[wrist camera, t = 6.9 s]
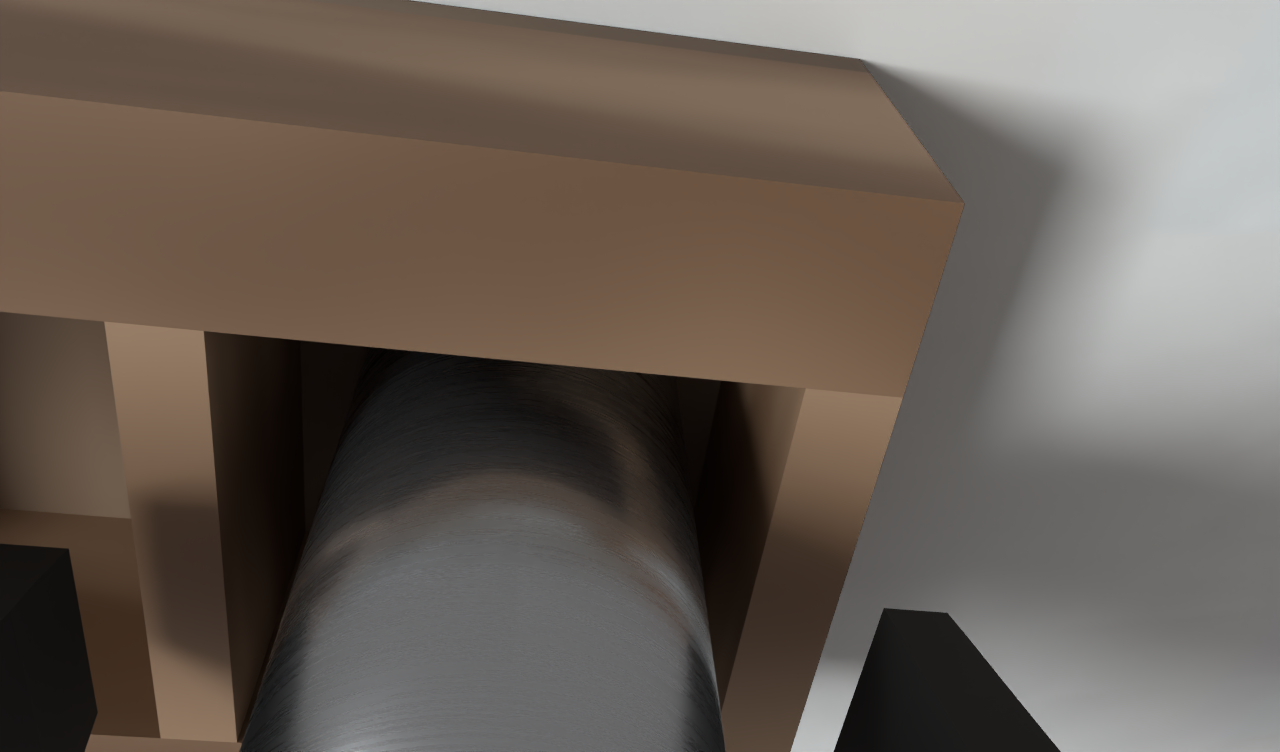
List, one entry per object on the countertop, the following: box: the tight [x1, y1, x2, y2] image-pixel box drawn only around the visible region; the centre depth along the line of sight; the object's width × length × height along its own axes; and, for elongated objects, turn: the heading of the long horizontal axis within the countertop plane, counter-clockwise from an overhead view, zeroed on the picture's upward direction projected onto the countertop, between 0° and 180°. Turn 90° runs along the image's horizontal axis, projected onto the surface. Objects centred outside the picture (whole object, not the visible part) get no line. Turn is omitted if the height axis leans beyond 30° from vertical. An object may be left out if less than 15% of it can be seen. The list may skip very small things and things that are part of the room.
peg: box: [239, 347, 726, 752], centre depth 11 cm, size 4×4×7 cm
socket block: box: [0, 0, 965, 752], centre depth 12 cm, size 9×13×4 cm
